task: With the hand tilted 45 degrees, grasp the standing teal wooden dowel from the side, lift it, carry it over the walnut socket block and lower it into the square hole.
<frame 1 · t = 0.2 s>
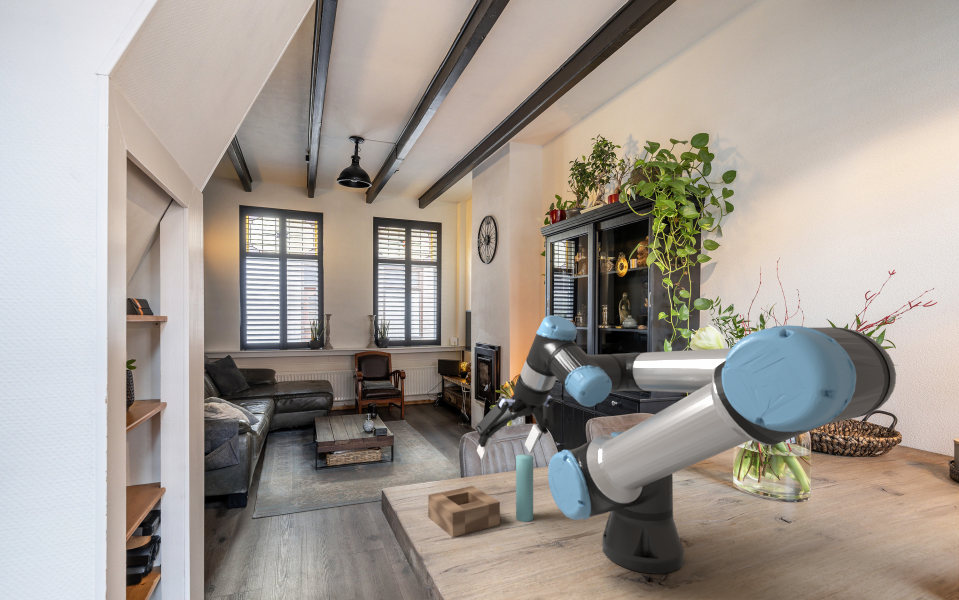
hand: (505, 451, 109), 15 cm above the table, tool tilted 35°, fingers open, 13 cm apart
dowel: (524, 518, 107), on the table
socket block: (463, 520, 105), on the table
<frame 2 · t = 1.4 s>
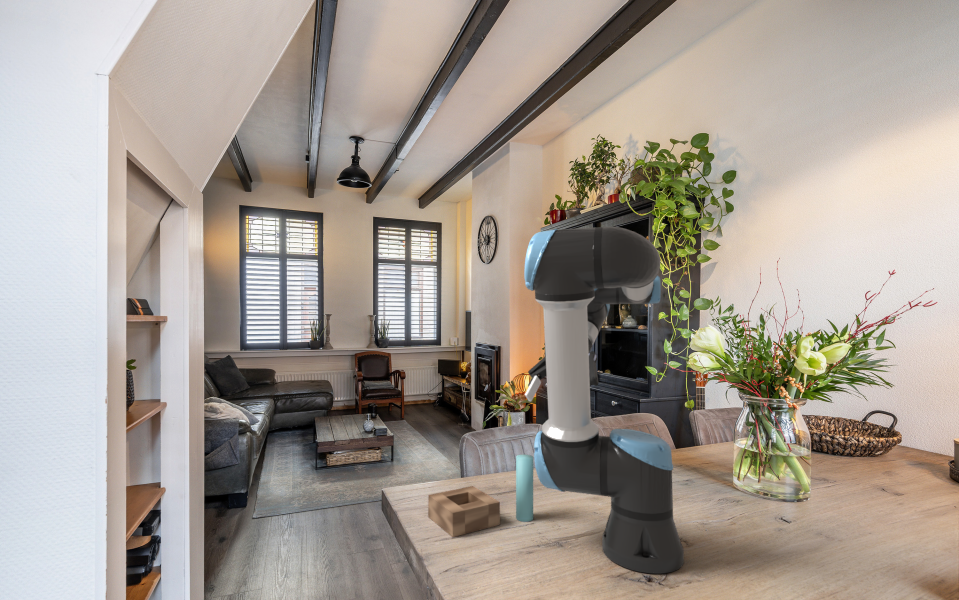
hand: (549, 401, 116), 26 cm above the table, tool tilted 45°, fingers open, 13 cm apart
nothing on the table moved.
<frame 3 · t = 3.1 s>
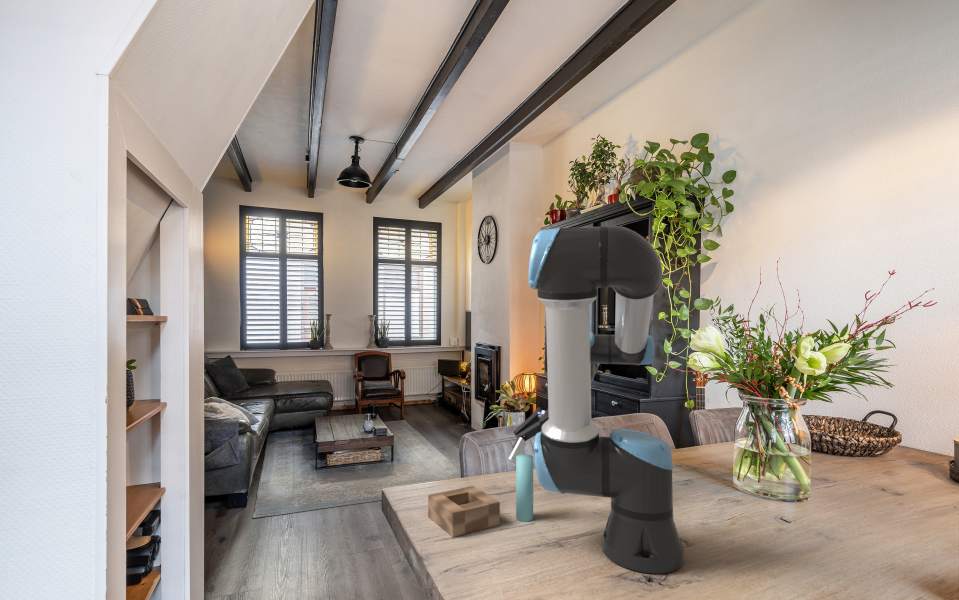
hand: (533, 468, 111), 10 cm above the table, tool tilted 45°, fingers open, 13 cm apart
nothing on the table moved.
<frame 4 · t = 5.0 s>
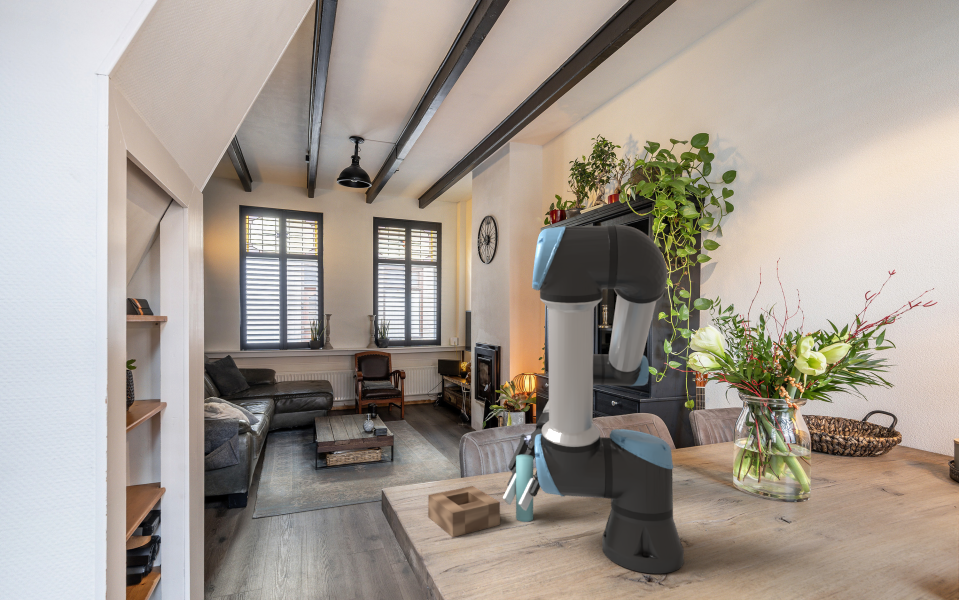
hand: (514, 504, 104), 4 cm above the table, tool tilted 45°, fingers closed on dowel, 4 cm apart
dowel: (524, 518, 107), on the table, touching gripper
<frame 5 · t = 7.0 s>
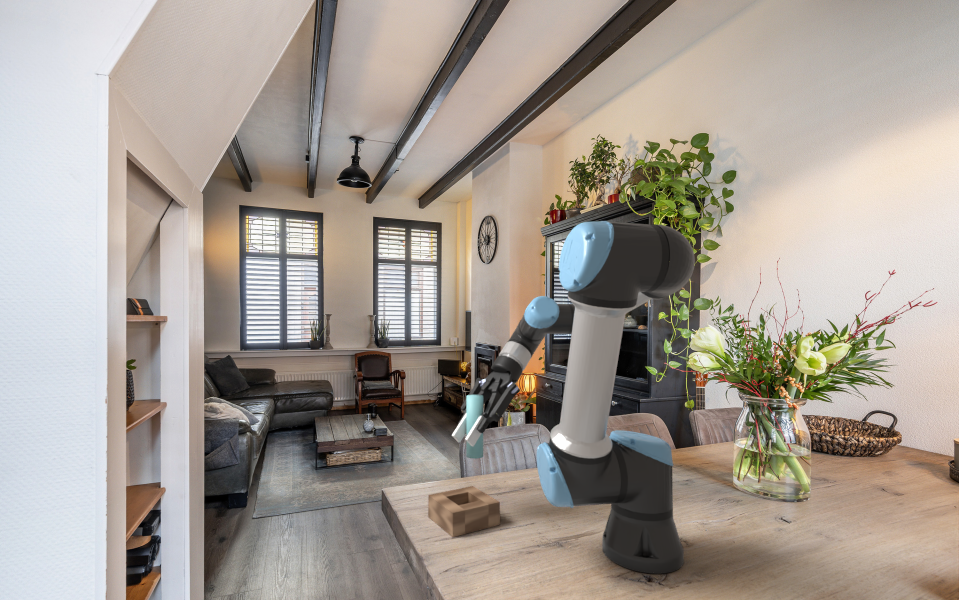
hand: (462, 440, 105), 18 cm above the table, tool tilted 45°, fingers closed on dowel, 4 cm apart
dowel: (474, 455, 108), point 14 cm above the table, touching gripper
when the fingers open (7 cm above the table, at t = 9.5 s): dowel drops 3 cm, resting in socket block.
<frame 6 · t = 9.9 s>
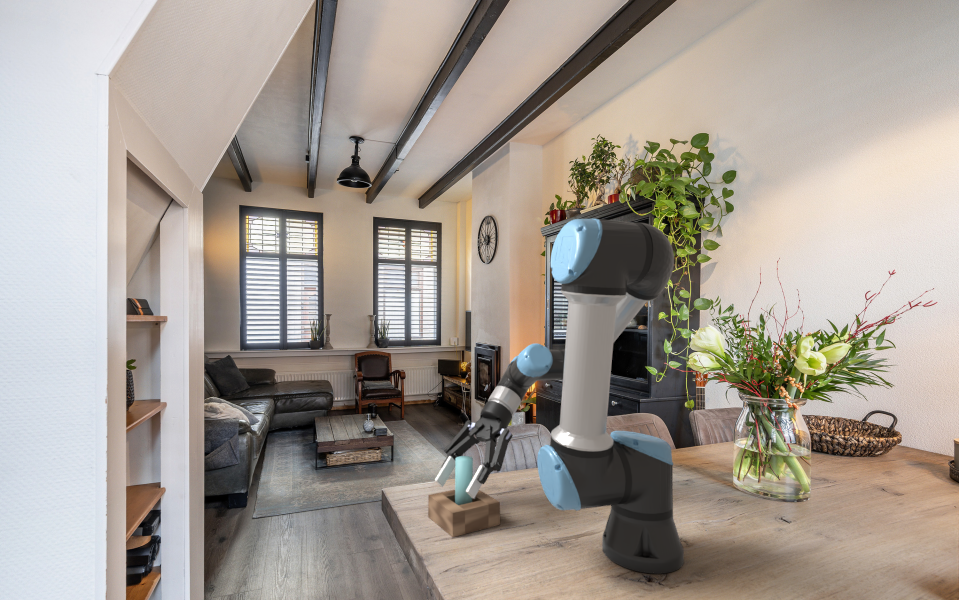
hand: (453, 489, 103), 8 cm above the table, tool tilted 45°, fingers open, 9 cm apart
dowel: (463, 520, 105), resting in socket block
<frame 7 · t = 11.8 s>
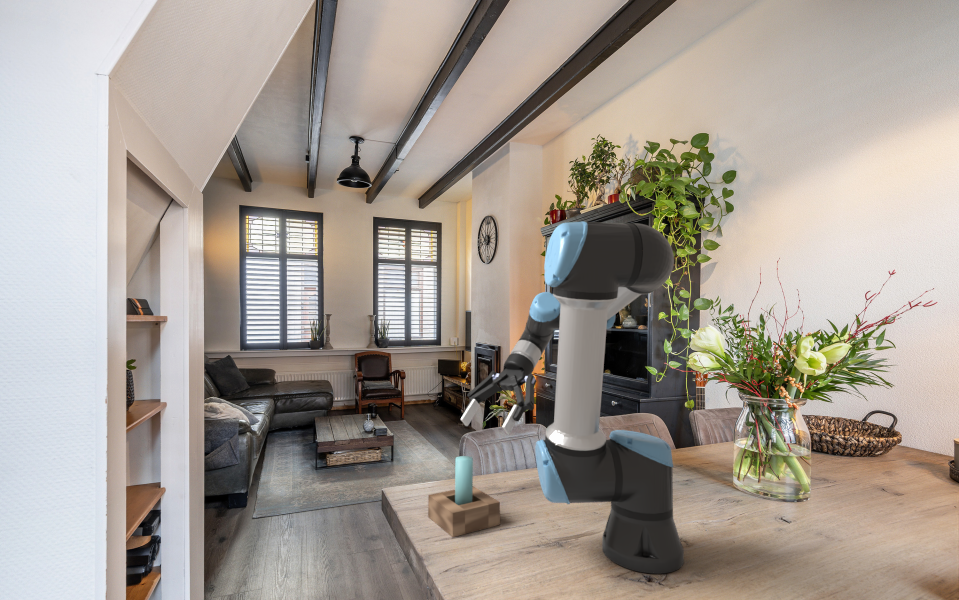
hand: (483, 426, 111), 20 cm above the table, tool tilted 45°, fingers open, 13 cm apart
nothing on the table moved.
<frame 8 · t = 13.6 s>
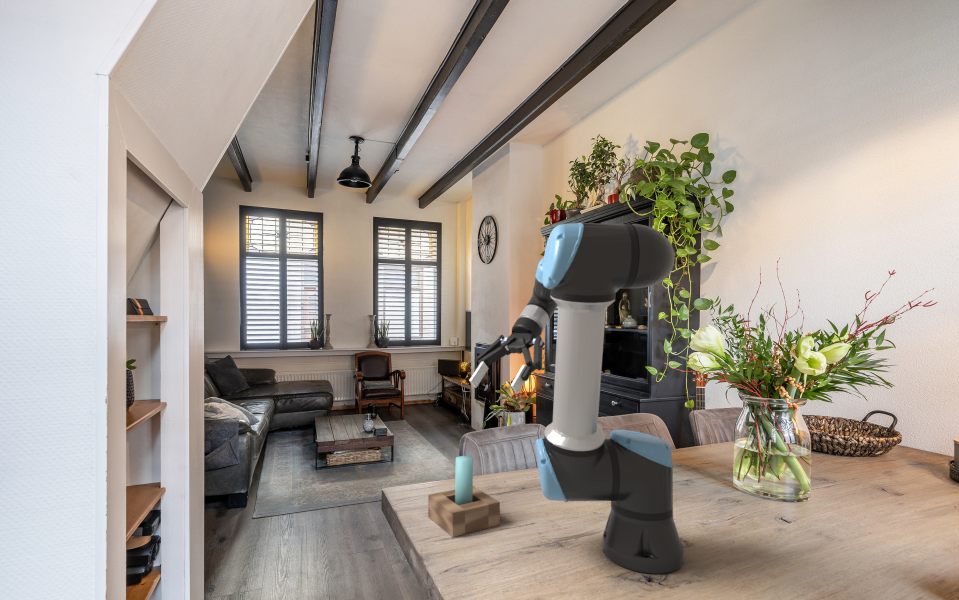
hand: (492, 386, 113), 30 cm above the table, tool tilted 45°, fingers open, 13 cm apart
nothing on the table moved.
at the end: dowel 0.1 cm off-centre on the socket block, point 0.0 cm above the socket block's base; dowel tilted 0°; the gripper is holding nothing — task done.
